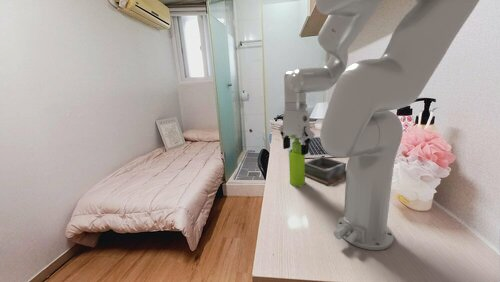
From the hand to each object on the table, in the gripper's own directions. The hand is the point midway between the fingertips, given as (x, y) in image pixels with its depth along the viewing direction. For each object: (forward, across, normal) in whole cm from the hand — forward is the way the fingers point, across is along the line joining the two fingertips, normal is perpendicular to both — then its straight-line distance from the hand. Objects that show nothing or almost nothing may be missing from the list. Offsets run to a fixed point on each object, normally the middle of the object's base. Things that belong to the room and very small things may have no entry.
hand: (295, 151), depth 80 cm
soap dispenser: (+14, -1, 0) cm, 14 cm away
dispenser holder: (+13, -2, -15) cm, 20 cm away
